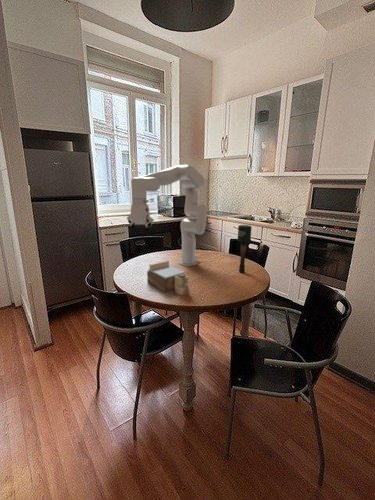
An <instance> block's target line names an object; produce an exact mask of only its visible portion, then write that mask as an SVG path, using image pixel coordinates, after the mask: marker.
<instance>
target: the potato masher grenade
mask: <svg viewBox="0 0 375 500" xmlns="http://www.w3.org/2000/svg"><path fill="white" fill-rule="evenodd" d="M237 228H238V229H237V238H236V241H238V242H240V259H239V261H240V262H239V265H238V268H239V269H238V271H239V273H240V274H243V273H245V266H246V265H245V263H246V262H245V260H246V259H245V258H246V250H247V243H249V242H251V241H252V229H253V228H252V226H251V225H249V224H240V225H238V227H237Z"/></svg>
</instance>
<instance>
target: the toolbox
mask: <svg viewBox="0 0 375 500" xmlns="http://www.w3.org/2000/svg"><path fill="white" fill-rule="evenodd" d="M146 273H147V274H146V277H147V284H149V285H151V286H152V287H153V288H156V289H157V290H159V291H161V292H162V293H164V294H166V293H169V292H172V291H175V277H172V278H168V279H164V278H162V277H160V276H158V275H156V274H154V273H152V272H150V271H148V270H147V272H146ZM184 275H186V276H187V274H186V273H184Z"/></svg>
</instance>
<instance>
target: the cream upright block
mask: <svg viewBox="0 0 375 500" xmlns="http://www.w3.org/2000/svg"><path fill="white" fill-rule="evenodd" d="M184 274H185V273H184ZM184 274H178V275H177V276H175V290H174V293H175V294H177V295H179V296H184V295H186V294H188V293H189V276H188V275H187V274H186V275H184Z"/></svg>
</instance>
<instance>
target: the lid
mask: <svg viewBox="0 0 375 500" xmlns="http://www.w3.org/2000/svg"><path fill="white" fill-rule="evenodd" d="M147 271H150V272H152V273H154V274H156V275H158V276H160V277H162V278H164V279H168V278H172V277H175V276H177V275H178V274H185V271H183V270H182V269H178V268H176V267H173V266H171V265H170V261H169V260H168V259H166V260H161V261H157V262H153V263H149V268H148V270H147Z"/></svg>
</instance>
